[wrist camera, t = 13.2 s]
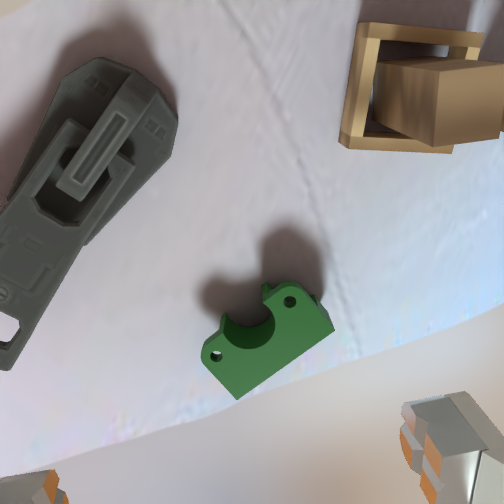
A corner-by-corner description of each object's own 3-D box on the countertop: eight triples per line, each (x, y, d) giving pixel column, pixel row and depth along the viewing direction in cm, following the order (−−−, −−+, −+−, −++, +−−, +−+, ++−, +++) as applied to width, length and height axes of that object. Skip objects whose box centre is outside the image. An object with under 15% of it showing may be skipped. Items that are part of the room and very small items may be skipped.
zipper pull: (-109, 332, 32) (75, 36, 26) (-65, 285, 38) (94, 36, 32) (10, 383, 36) (199, 133, 29) (34, 333, 42) (195, 116, 35)
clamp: (271, 263, 47) (307, 266, 38) (305, 304, 48) (348, 316, 39) (185, 343, 44) (204, 366, 36) (224, 385, 45) (251, 417, 37)
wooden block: (373, 62, 35) (439, 71, 26) (427, 55, 36) (510, 63, 27) (372, 120, 37) (433, 147, 28) (423, 113, 38) (499, 138, 29)
